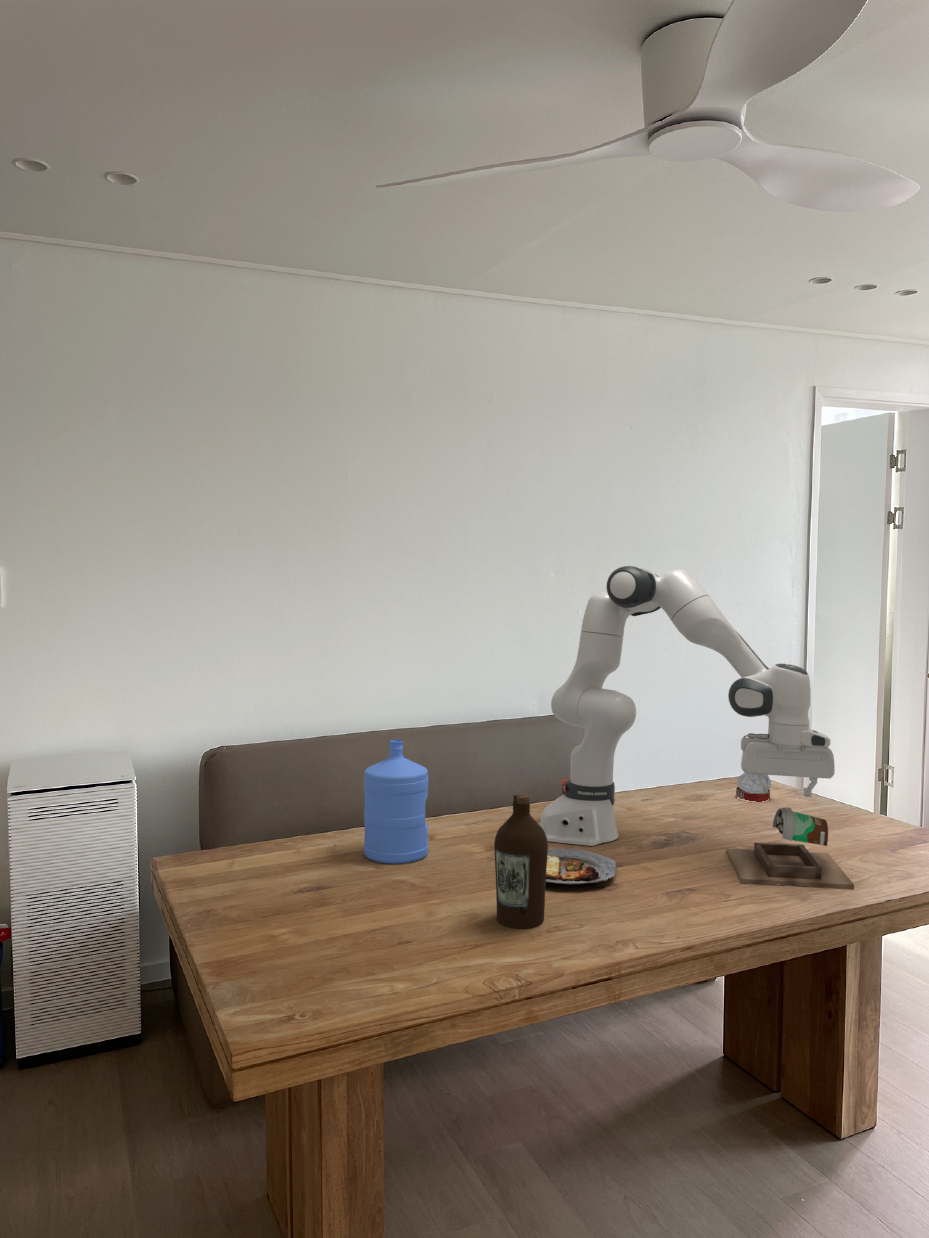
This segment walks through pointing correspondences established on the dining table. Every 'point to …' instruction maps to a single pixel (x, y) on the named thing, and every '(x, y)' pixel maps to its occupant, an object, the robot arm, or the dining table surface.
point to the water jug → (395, 809)
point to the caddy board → (787, 866)
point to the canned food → (752, 788)
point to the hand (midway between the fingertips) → (785, 794)
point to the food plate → (578, 867)
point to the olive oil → (520, 868)
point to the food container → (801, 827)
